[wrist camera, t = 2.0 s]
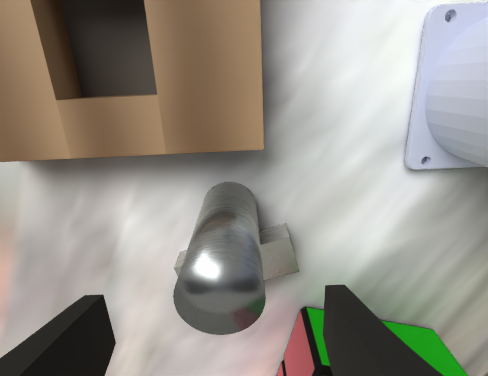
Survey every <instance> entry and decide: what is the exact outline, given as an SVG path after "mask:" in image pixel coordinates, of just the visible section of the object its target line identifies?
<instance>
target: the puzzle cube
mask: <svg viewBox="0 0 488 376" xmlns="http://www.w3.org/2000/svg"><path fill="white" fill-rule="evenodd" d="M323 319H324V310H321V309H315V308H310V307H303V308H302V309H301V310H300V312H299V315H298V317H297V320H296V323H295V326H294V329H293V331H292V334H291V337H290V340H289V342H288V345H287V348H286V351H285V354H284V360H283V361H282V362H281V365H280V367H279V370H278V373H277V376H333V374H332V371H331V368H330V364H329V360H328V356H327V351H326V347H325V343H324V338H323ZM381 321H382V320H381ZM382 322H383V323H384V324H385V325H386V326H387V327H388V328H389V329H390V330H391V331H392V332H393V333H395V334H396V335H397V336H398V337H399V338H400V339H401V340H402V341H403V342H404V343H405V344H407V345H408V346H409V347H410V348H411V349H412V350H413V351H415V352H416V353H417V354H418V355H419V356H420V357H422V358H423V359H424V360H425V361H426V362H428V363H429V364H430V365H431V366H432V367H433V368H435V369H436V370H437V371H438V372H440V373H441V374H442V375H443V376H468V375H467V374H466V373H465V371H464V370H463V369H462V367H461V366H460V365H459V363H458V362H457V361H456V359H455V358H454V357H453V355H452V354H451V353H450V351H449V350H448V349H447V347H446V346H445V345H444V343H443V342H442V341H441V339H440V338H439V337H438V335H437V334H436V333H435V331H434V330H432V329H426V328H421V327H415V326H410V325H404V324H399V323H393V322H388V321H382Z"/></svg>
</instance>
